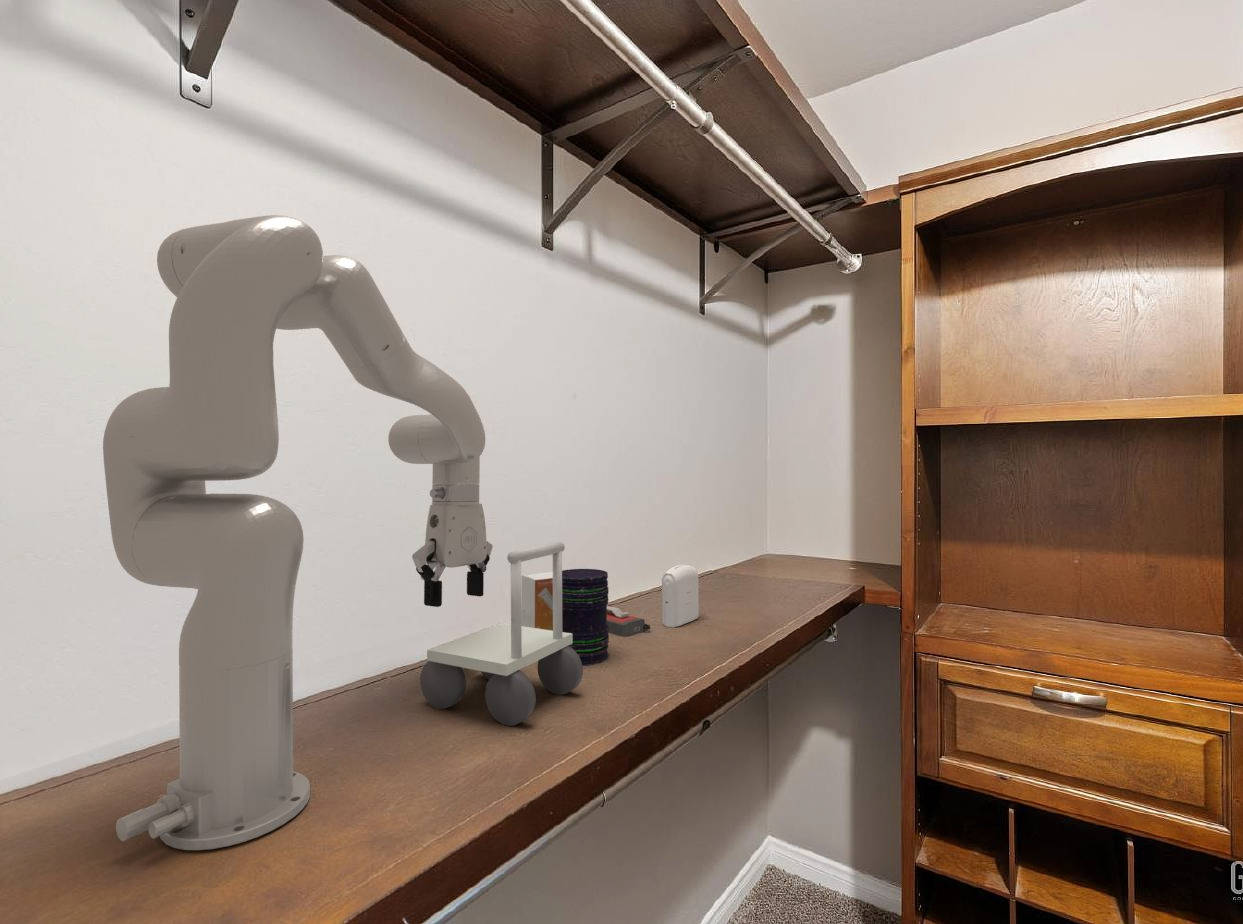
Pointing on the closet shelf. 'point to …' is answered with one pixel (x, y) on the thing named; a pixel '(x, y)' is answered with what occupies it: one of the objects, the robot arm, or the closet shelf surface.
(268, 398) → the robot arm
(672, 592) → the photo printer
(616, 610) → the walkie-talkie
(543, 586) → the small box
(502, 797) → the closet shelf surface
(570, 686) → the trolley
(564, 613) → the dark blue cylinder
